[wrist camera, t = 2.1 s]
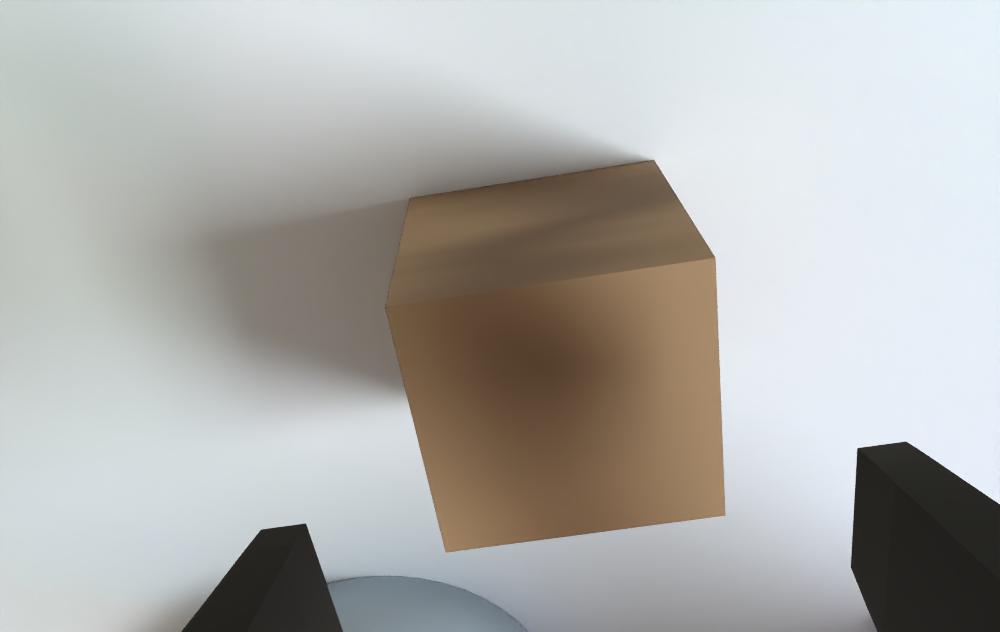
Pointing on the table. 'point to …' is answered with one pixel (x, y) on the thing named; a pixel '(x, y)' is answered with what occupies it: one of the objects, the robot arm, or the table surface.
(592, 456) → the cube
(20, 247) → the table surface
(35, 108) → the table surface
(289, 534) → the robot arm
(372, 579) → the platform
